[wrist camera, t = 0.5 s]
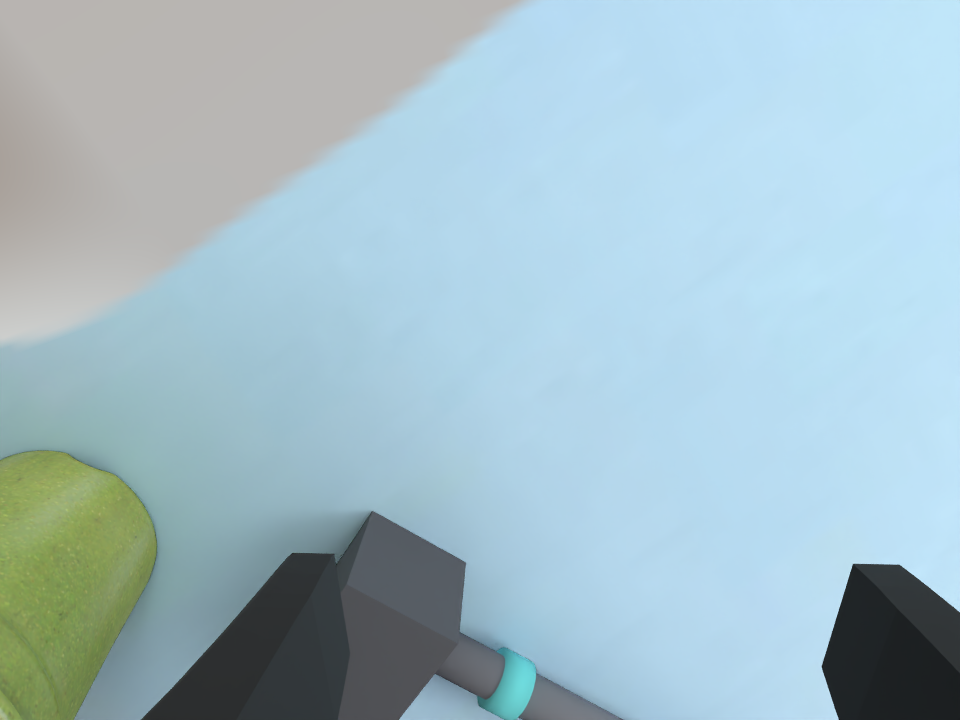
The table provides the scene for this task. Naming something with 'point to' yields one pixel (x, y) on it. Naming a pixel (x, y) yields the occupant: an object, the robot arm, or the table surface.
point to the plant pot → (64, 578)
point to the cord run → (428, 636)
